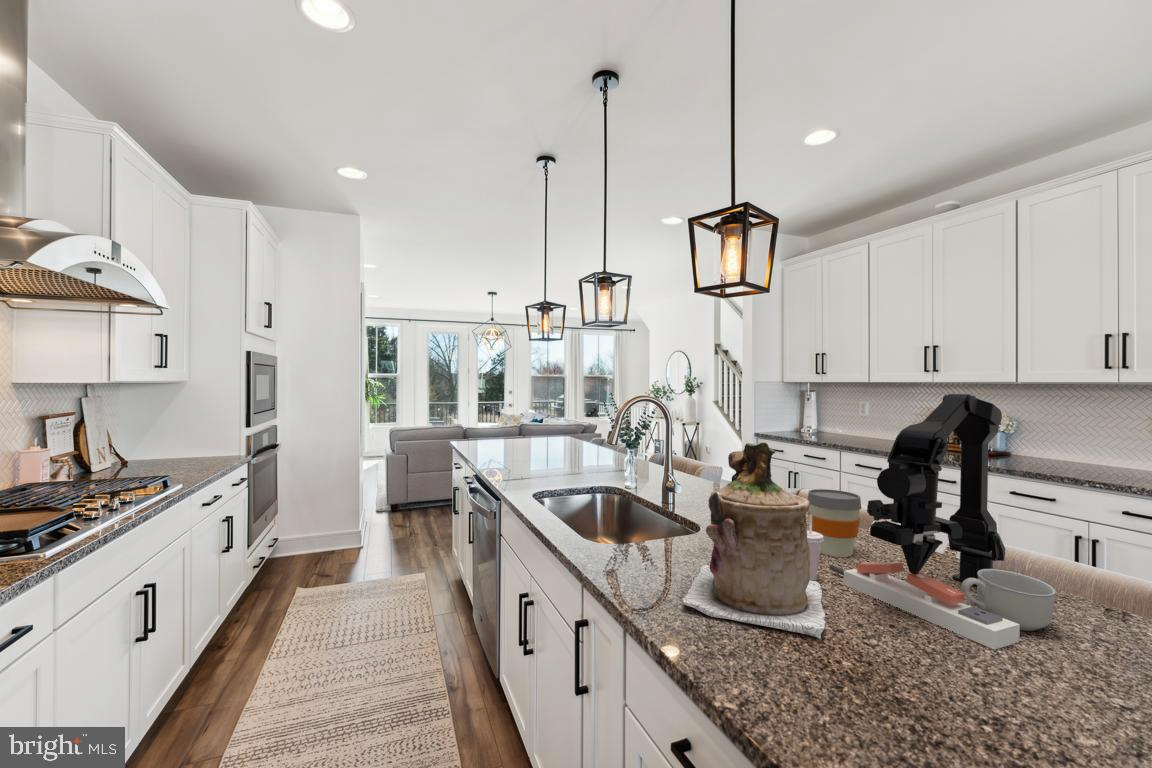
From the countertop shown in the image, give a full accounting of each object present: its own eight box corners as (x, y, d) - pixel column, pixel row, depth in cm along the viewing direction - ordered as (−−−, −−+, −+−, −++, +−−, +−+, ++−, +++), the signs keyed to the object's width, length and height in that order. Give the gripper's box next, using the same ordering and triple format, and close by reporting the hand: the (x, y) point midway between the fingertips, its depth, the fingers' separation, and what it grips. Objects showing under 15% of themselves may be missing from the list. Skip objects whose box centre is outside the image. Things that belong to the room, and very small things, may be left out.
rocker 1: (869, 570, 107) (867, 561, 107) (904, 571, 99) (901, 562, 100) (857, 572, 105) (855, 563, 106) (892, 573, 98) (889, 564, 99)
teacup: (1034, 615, 93) (1035, 573, 93) (1070, 643, 83) (1070, 595, 83) (947, 603, 98) (947, 563, 98) (970, 628, 88) (971, 583, 88)
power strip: (842, 570, 114) (842, 553, 115) (1019, 642, 83) (1019, 618, 83) (820, 574, 112) (820, 557, 112) (994, 649, 80) (994, 625, 80)
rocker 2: (918, 579, 97) (920, 571, 97) (963, 602, 89) (964, 593, 89) (906, 582, 95) (907, 574, 95) (950, 605, 88) (952, 596, 88)
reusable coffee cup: (800, 542, 136) (801, 488, 136) (848, 545, 134) (849, 490, 134) (815, 558, 123) (816, 498, 123) (869, 561, 121) (870, 500, 121)
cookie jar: (822, 590, 104) (824, 438, 104) (827, 644, 81) (830, 451, 81) (703, 569, 114) (705, 431, 114) (678, 613, 92) (681, 441, 92)
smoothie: (826, 584, 107) (827, 519, 107) (795, 581, 108) (796, 517, 108) (818, 573, 113) (819, 512, 113) (788, 570, 114) (789, 510, 114)
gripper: (909, 483, 107) (904, 554, 107) (847, 486, 100) (842, 562, 100) (966, 496, 96) (961, 574, 97) (901, 500, 89) (896, 585, 90)
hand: (913, 573), depth 96 cm, fingers closed, pressing on rocker 2
